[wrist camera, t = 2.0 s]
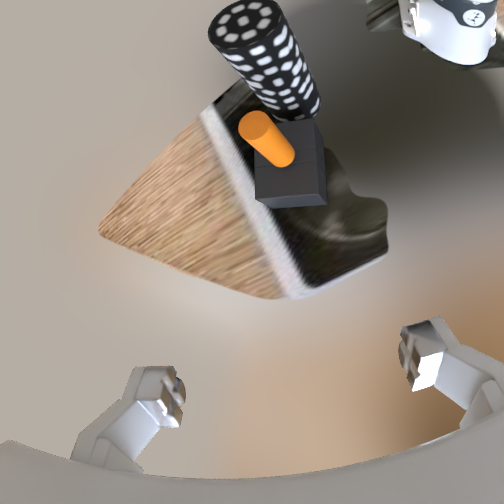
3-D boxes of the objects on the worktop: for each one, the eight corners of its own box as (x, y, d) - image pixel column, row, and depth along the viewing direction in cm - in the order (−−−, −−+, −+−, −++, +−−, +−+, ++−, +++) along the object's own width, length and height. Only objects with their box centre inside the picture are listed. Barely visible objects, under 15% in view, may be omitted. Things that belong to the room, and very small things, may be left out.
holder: (271, 144, 44) (253, 126, 38) (322, 138, 41) (313, 118, 35) (272, 208, 44) (254, 199, 37) (327, 204, 41) (318, 194, 34)
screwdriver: (287, 163, 43) (238, 114, 27) (308, 161, 42) (269, 107, 26) (288, 184, 43) (238, 143, 27) (309, 182, 42) (270, 137, 26)
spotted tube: (264, 92, 45) (202, 17, 26) (310, 74, 42) (268, -12, 23) (277, 132, 44) (214, 61, 25) (328, 114, 41) (292, 28, 22)
